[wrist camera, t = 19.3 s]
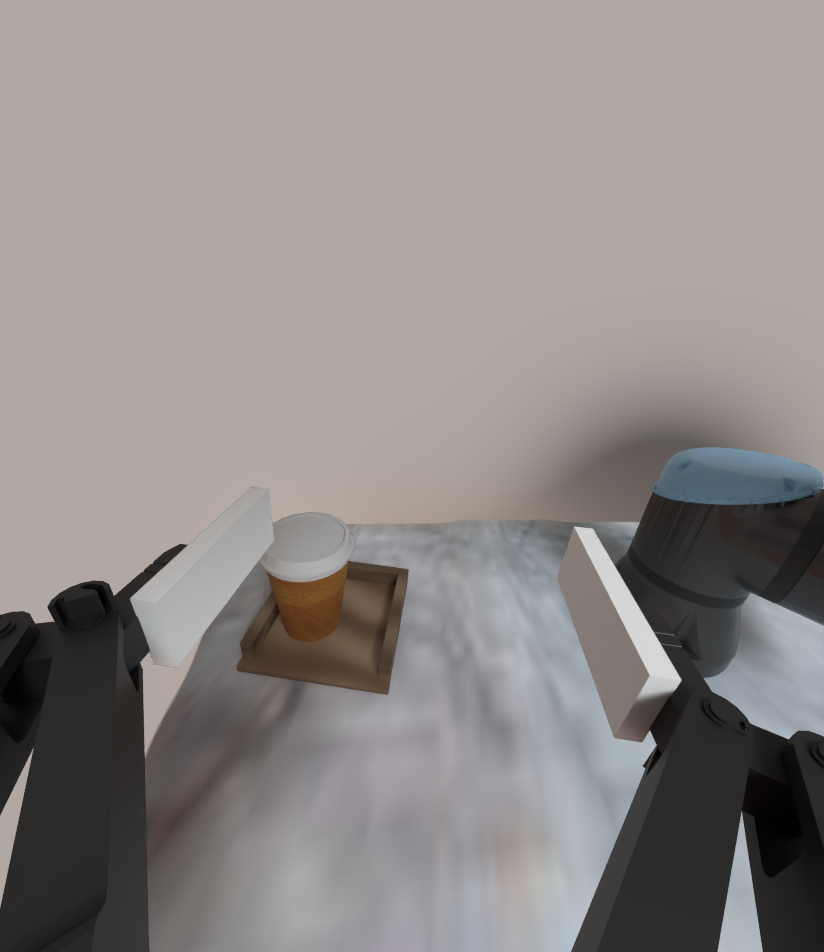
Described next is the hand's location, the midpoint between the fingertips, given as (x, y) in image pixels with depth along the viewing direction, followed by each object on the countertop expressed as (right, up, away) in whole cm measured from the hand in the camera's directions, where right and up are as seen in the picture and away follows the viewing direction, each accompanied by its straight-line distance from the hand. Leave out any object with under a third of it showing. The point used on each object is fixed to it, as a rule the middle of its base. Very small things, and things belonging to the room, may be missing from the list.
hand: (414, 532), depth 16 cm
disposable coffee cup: (-12, -14, +27) cm, 32 cm away
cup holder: (-9, -15, +27) cm, 32 cm away
